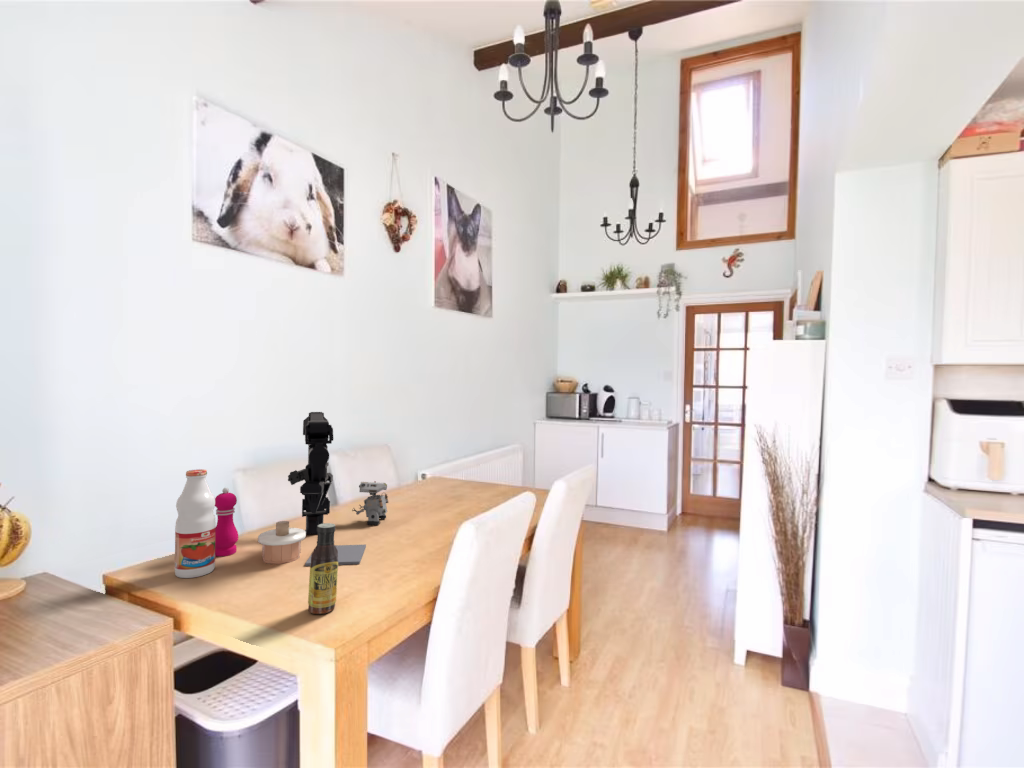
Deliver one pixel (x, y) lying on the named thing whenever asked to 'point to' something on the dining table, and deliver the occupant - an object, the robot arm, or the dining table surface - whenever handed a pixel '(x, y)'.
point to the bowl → (281, 553)
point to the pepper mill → (225, 524)
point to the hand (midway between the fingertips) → (316, 509)
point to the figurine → (374, 502)
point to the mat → (347, 554)
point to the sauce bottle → (323, 572)
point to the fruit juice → (195, 527)
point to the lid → (282, 535)
